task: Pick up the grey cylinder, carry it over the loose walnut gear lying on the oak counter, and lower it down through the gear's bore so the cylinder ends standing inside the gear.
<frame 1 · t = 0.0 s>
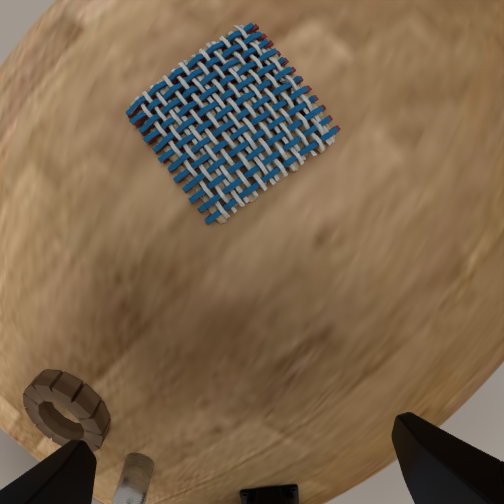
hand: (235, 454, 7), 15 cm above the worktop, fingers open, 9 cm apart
grey cylinder: (140, 461, 26), on the worktop
woven mat: (233, 119, 19), on the worktop
walnut gear: (70, 405, 24), on the worktop
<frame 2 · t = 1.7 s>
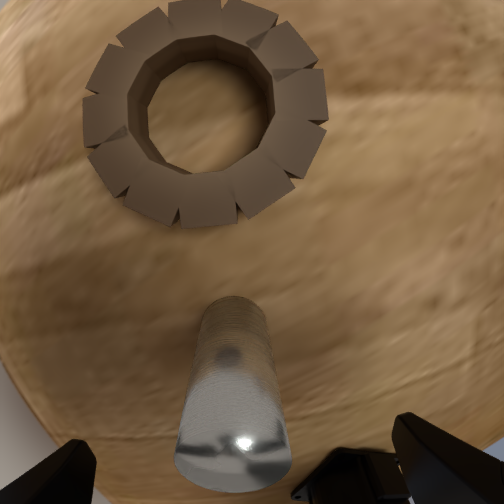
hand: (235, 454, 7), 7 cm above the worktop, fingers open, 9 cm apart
grey cylinder: (234, 326, 14), on the worktop
walnut gear: (206, 114, 12), on the worktop
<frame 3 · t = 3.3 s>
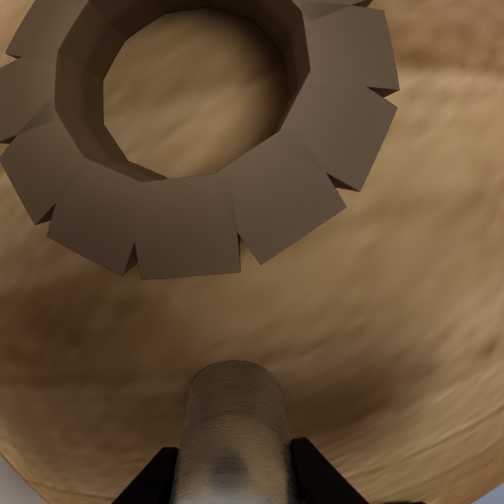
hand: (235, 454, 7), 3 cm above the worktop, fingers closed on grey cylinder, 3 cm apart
grey cylinder: (235, 397, 10), on the worktop, touching gripper
walnut gear: (190, 84, 7), on the worktop
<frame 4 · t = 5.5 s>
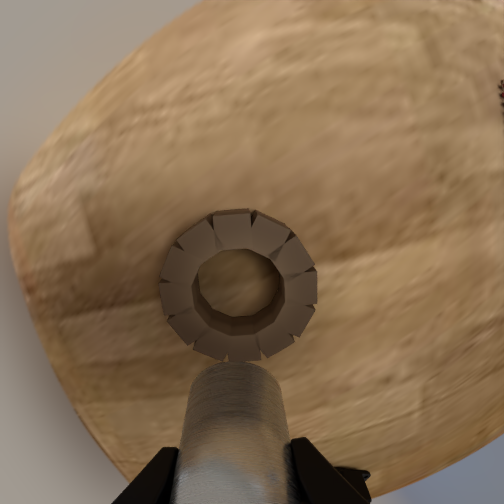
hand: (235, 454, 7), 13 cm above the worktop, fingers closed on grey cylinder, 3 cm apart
grey cylinder: (235, 397, 10), point 10 cm above the worktop, touching gripper
walnut gear: (238, 279, 19), on the worktop
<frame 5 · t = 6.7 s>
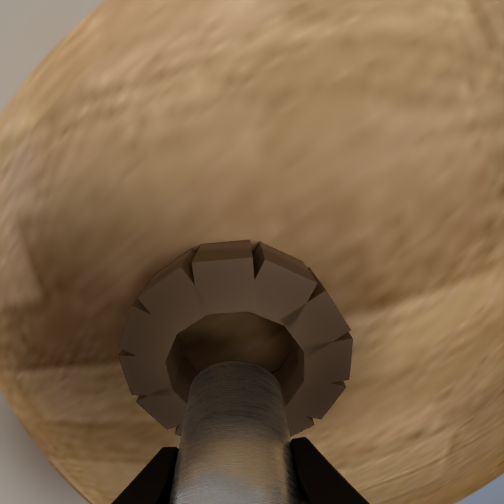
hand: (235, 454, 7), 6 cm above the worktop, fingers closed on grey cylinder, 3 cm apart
grey cylinder: (235, 397, 10), point 4 cm above the worktop, touching gripper
walnut gear: (236, 339, 13), on the worktop
when the fingers open (4 cm above the worktop, at t = 7.8 s): grey cylinder drops 2 cm, resting in walnut gear.
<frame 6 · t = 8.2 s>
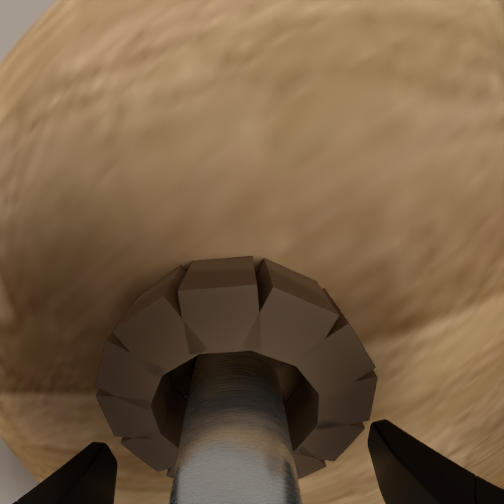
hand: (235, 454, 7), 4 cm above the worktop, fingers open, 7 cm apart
grey cylinder: (235, 371, 11), resting in walnut gear
walnut gear: (235, 371, 11), on the worktop
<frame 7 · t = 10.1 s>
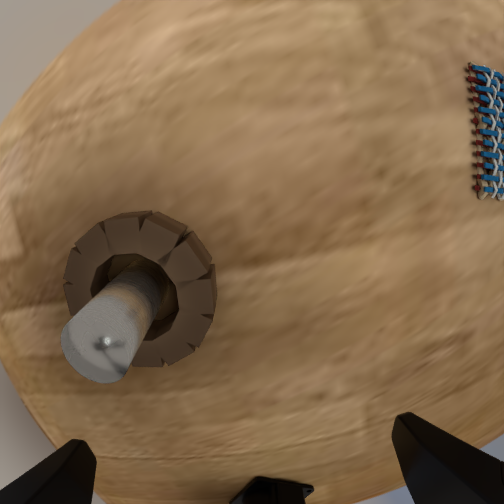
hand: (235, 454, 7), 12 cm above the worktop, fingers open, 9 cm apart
grey cylinder: (145, 283, 18), resting in walnut gear
walnut gear: (145, 283, 18), on the worktop
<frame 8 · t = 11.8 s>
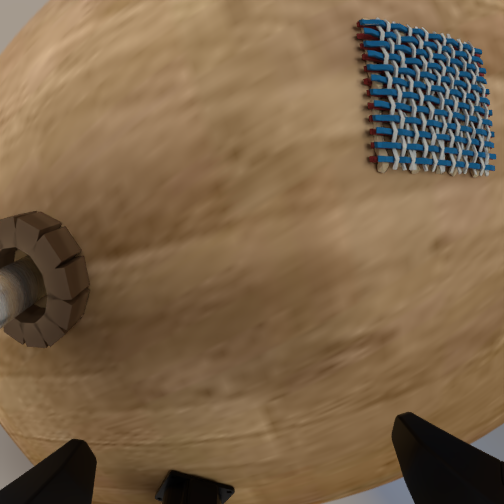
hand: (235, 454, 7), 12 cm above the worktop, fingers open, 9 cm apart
grey cylinder: (38, 274, 18), resting in walnut gear
woven mat: (427, 100, 17), on the worktop
walnut gear: (37, 274, 18), on the worktop
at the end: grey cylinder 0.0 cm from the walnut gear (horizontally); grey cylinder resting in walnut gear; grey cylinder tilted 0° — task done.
